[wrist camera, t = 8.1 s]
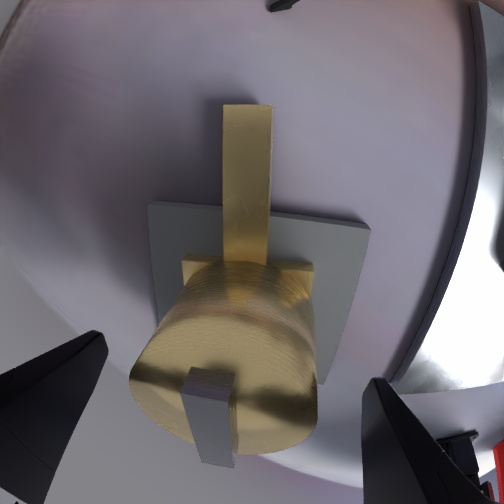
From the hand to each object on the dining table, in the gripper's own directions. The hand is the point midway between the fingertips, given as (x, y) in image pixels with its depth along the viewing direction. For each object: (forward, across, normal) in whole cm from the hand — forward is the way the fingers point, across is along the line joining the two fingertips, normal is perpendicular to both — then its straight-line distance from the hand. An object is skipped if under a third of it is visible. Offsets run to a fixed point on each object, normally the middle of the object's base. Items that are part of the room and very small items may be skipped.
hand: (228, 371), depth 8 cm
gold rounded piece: (+3, 0, -2) cm, 4 cm away
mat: (+4, 0, 0) cm, 4 cm away
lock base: (+4, -13, -5) cm, 15 cm away
